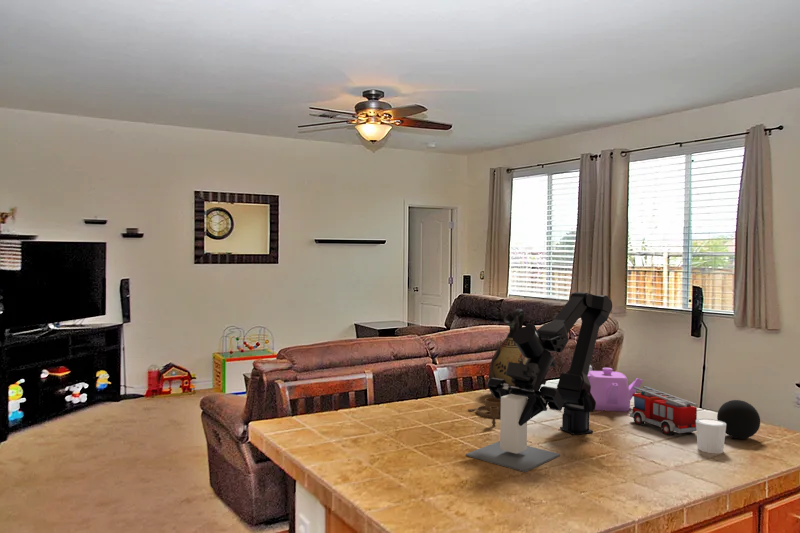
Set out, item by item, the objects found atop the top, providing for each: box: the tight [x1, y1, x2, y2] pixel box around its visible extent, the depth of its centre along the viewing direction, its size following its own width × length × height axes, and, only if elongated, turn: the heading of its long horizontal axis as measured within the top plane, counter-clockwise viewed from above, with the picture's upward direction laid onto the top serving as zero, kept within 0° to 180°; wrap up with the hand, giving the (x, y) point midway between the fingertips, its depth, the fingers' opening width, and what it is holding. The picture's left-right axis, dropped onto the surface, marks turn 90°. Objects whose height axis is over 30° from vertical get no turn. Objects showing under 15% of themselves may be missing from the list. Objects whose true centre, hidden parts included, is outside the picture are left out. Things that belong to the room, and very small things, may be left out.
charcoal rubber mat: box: [465, 440, 561, 473], centre depth 143 cm, size 16×16×1 cm
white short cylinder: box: [695, 418, 726, 454], centre depth 149 cm, size 7×7×7 cm
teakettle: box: [588, 367, 644, 412], centre depth 194 cm, size 17×17×12 cm
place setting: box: [467, 396, 501, 428], centre depth 179 cm, size 18×20×6 cm
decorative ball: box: [716, 399, 761, 440], centre depth 160 cm, size 10×10×10 cm
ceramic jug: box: [488, 308, 528, 387], centre depth 208 cm, size 17×15×30 cm
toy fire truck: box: [629, 385, 698, 436], centre depth 168 cm, size 9×19×10 cm, turn 21°
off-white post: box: [499, 394, 528, 454], centre depth 142 cm, size 4×4×12 cm
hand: (510, 422), depth 141 cm, fingers closed on off-white post, 4 cm apart
